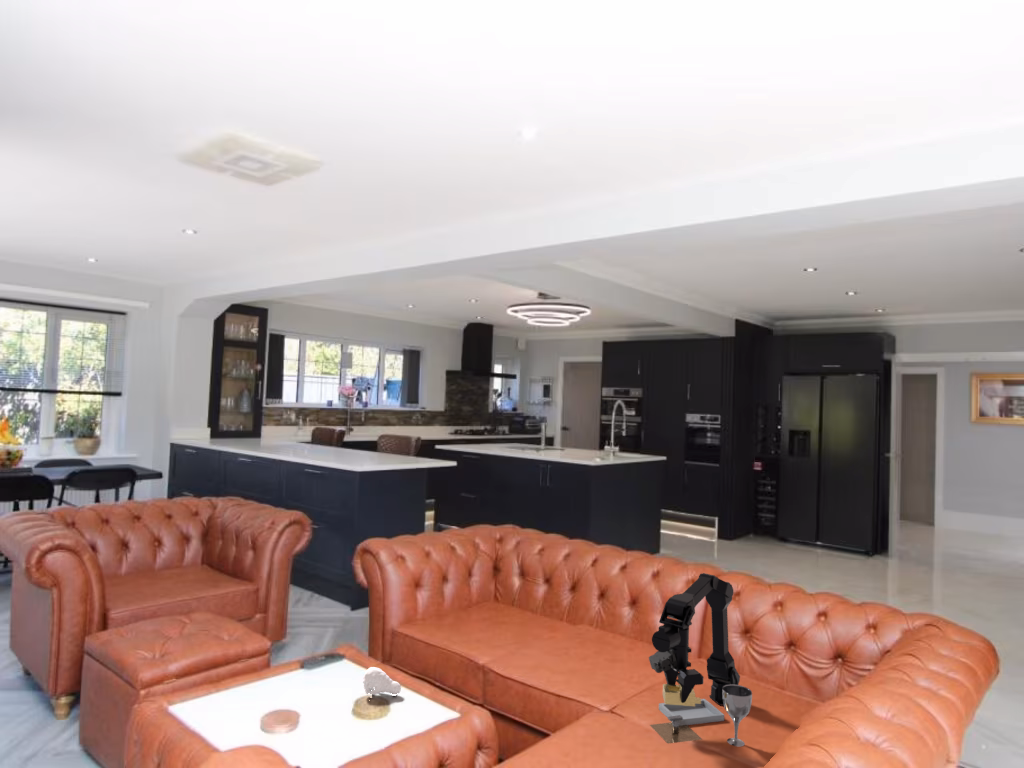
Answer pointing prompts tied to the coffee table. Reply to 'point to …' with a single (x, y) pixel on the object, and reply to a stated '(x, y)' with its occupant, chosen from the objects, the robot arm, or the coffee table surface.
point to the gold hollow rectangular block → (678, 696)
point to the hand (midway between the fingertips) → (676, 697)
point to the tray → (693, 713)
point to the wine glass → (736, 707)
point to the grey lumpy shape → (379, 682)
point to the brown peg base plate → (675, 731)
